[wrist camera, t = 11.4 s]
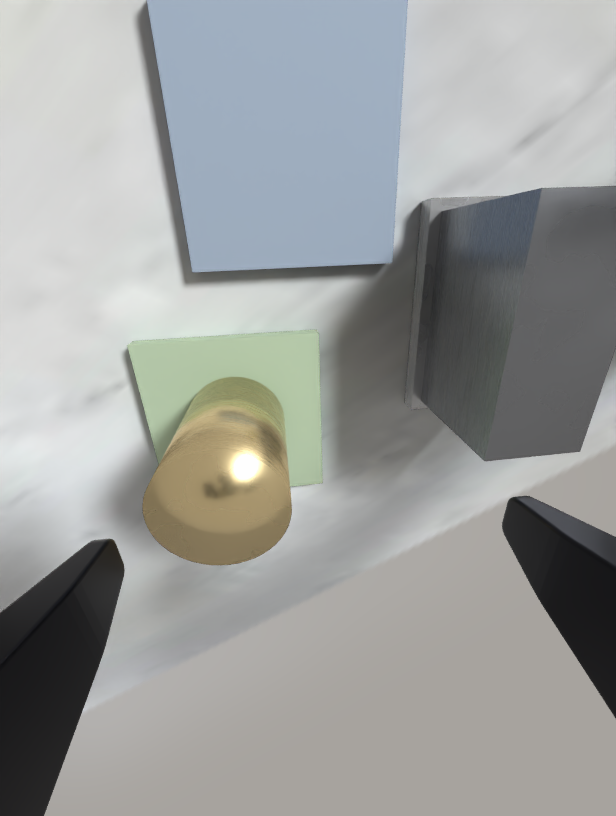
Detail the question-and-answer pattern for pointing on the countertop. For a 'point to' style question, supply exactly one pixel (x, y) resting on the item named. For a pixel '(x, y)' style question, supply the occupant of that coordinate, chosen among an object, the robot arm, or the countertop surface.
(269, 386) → the sage mat
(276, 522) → the gold metal cylinder
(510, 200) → the grey block with base
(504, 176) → the countertop surface
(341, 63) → the slate mat
